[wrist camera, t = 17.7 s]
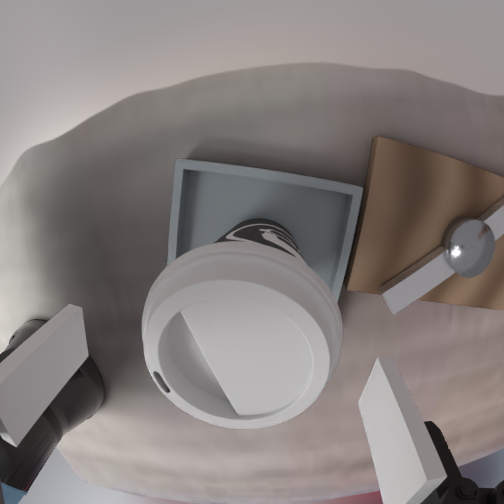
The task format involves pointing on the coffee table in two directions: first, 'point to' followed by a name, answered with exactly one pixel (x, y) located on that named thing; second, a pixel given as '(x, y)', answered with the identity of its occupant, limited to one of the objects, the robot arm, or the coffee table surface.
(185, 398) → the coffee cup
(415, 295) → the crank
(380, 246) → the crank base
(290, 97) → the coffee table surface
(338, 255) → the tray
